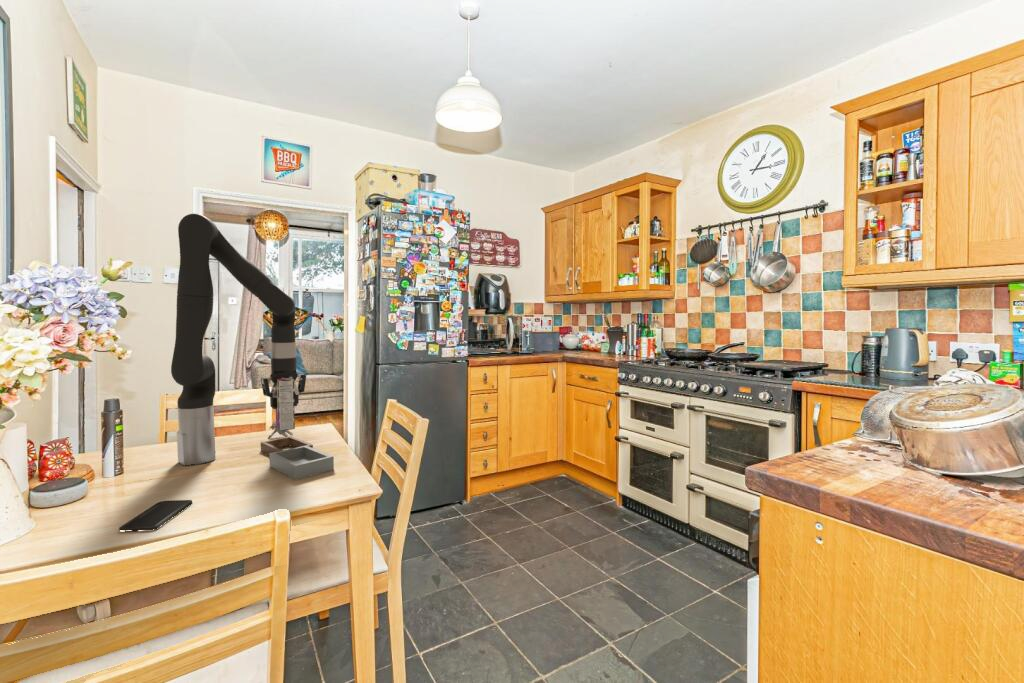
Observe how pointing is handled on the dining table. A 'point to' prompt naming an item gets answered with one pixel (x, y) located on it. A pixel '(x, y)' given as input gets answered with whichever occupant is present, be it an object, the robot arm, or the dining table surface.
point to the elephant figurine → (279, 431)
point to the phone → (156, 515)
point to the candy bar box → (285, 404)
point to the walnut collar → (282, 444)
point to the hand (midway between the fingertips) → (284, 407)
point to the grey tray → (301, 462)
